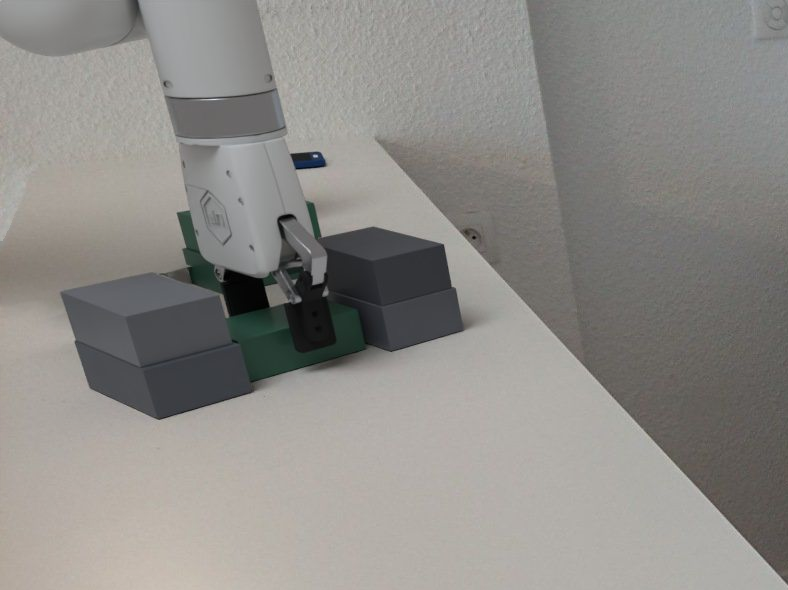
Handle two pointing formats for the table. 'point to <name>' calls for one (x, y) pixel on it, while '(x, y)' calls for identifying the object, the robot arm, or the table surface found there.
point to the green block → (289, 340)
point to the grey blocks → (210, 330)
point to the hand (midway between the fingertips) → (284, 336)
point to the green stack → (204, 270)
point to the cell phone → (307, 159)
